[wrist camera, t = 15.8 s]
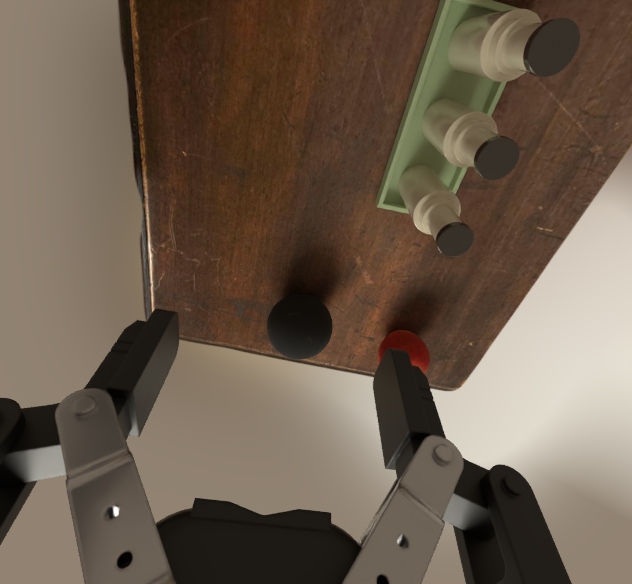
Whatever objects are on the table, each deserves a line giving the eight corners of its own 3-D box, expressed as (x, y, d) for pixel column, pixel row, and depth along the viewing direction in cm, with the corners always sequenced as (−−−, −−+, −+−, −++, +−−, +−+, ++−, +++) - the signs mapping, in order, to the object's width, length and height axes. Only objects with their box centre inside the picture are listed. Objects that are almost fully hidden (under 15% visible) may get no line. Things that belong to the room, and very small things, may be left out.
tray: (443, -10, 35) (449, -13, 33) (527, 15, 36) (538, 13, 34) (375, 201, 47) (377, 207, 46) (438, 214, 49) (443, 221, 47)
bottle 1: (460, 9, 35) (541, -9, 22) (505, 22, 36) (611, 12, 23) (439, 67, 38) (501, 81, 25) (482, 78, 39) (564, 98, 26)
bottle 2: (430, 93, 39) (484, 119, 26) (471, 103, 40) (544, 134, 27) (414, 139, 42) (455, 183, 29) (452, 148, 43) (510, 195, 30)
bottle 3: (405, 160, 44) (441, 211, 31) (443, 169, 44) (494, 222, 31) (392, 198, 47) (420, 259, 34) (427, 206, 47) (468, 269, 34)
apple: (431, 328, 61) (448, 372, 53) (405, 358, 65) (417, 403, 57) (390, 313, 59) (401, 357, 51) (367, 345, 63) (374, 390, 55)
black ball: (299, 270, 54) (295, 310, 46) (344, 306, 58) (347, 349, 50) (258, 306, 58) (248, 349, 50) (303, 337, 62) (300, 382, 54)
